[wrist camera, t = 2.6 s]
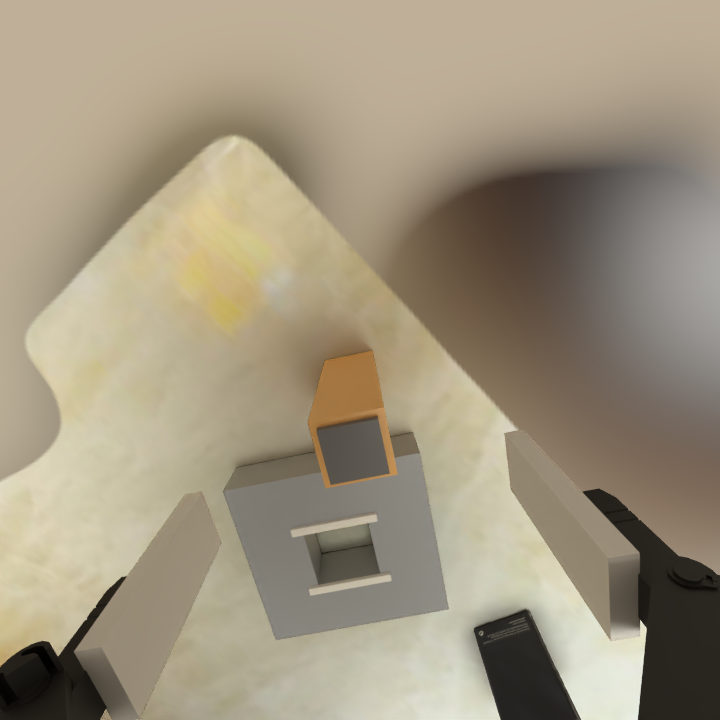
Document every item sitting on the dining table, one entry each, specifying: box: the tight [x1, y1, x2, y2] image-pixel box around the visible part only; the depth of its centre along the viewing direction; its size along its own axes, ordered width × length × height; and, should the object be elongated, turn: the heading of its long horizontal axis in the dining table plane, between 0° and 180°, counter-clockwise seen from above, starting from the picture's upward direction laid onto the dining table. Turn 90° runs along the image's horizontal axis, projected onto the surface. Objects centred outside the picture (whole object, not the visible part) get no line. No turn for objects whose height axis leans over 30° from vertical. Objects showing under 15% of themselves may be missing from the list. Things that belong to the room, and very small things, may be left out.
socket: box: [223, 433, 449, 640], centre depth 33 cm, size 16×16×4 cm
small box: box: [474, 611, 581, 720], centre depth 35 cm, size 11×6×10 cm, turn 24°
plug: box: [308, 351, 398, 488], centre depth 25 cm, size 4×4×12 cm
